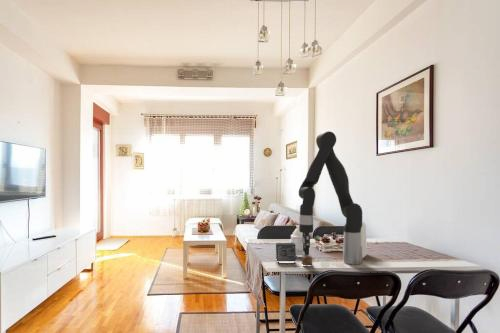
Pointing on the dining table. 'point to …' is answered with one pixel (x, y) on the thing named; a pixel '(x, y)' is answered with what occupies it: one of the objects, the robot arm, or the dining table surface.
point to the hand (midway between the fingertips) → (305, 253)
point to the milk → (363, 240)
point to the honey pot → (297, 241)
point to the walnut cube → (306, 259)
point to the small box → (285, 252)
